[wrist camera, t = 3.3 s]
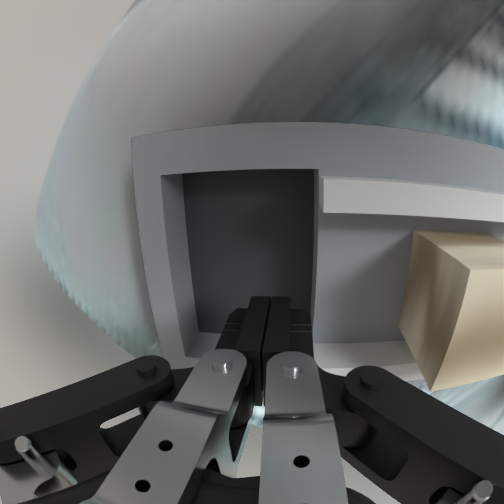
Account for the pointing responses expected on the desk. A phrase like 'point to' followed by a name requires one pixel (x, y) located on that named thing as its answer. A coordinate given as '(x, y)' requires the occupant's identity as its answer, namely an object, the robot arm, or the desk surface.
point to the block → (455, 307)
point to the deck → (302, 228)
